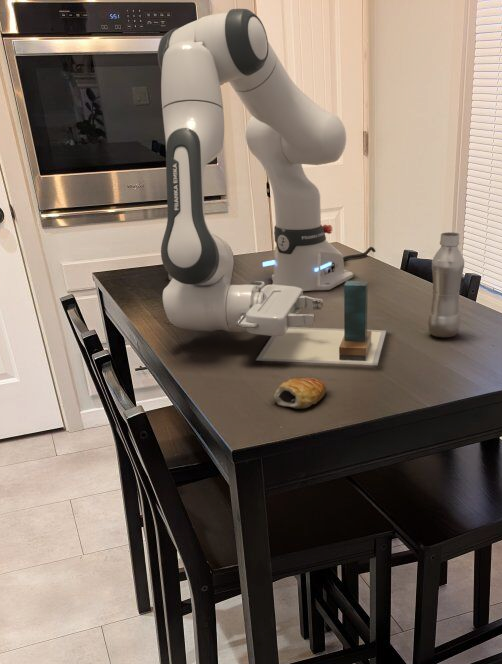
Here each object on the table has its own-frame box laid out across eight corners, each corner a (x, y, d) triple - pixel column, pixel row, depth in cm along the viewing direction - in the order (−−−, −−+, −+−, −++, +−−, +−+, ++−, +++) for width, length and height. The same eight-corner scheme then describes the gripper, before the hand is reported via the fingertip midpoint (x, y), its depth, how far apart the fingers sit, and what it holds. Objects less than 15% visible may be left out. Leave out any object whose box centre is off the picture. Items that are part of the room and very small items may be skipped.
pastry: (304, 386, 127) (304, 365, 125) (336, 394, 123) (336, 373, 121) (270, 404, 120) (269, 382, 118) (303, 414, 117) (302, 392, 115)
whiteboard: (255, 364, 136) (255, 359, 136) (278, 330, 153) (278, 326, 152) (377, 369, 133) (377, 364, 133) (386, 334, 150) (386, 330, 149)
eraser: (339, 359, 135) (338, 290, 128) (346, 342, 144) (346, 275, 137) (365, 360, 135) (366, 290, 128) (371, 343, 143) (372, 276, 136)
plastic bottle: (461, 332, 151) (470, 231, 140) (455, 342, 145) (463, 238, 135) (431, 329, 152) (437, 230, 142) (424, 339, 147) (429, 236, 136)
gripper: (231, 308, 128) (308, 311, 126) (258, 278, 145) (326, 280, 143) (234, 343, 131) (309, 346, 129) (260, 310, 148) (326, 312, 146)
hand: (318, 311), depth 136 cm, fingers open, 8 cm apart
